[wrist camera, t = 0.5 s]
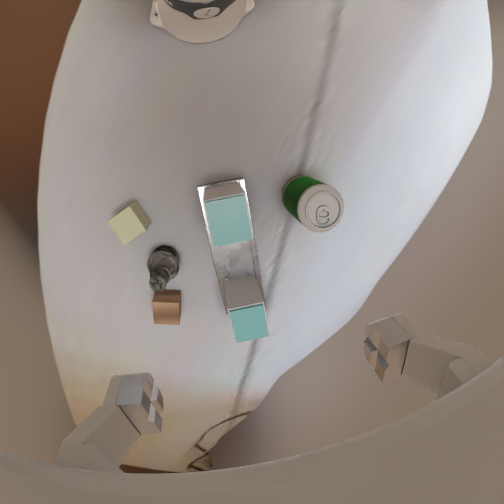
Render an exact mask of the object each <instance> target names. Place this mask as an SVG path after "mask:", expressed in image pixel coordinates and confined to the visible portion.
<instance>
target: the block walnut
mask: <svg viewBox="0 0 504 504" xmlns="http://www.w3.org/2000/svg"><path fill="white" fill-rule="evenodd" d="M152 303H153V316H154V324H169V325H179V324H180V315H181V290H163V291H161V292H156V291H155V295H154V298H153V301H152Z"/></svg>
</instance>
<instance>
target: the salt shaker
mask: <svg viewBox="0 0 504 504" xmlns="http://www.w3.org/2000/svg"><path fill="white" fill-rule="evenodd" d="M147 266H148V270H149V273H150V282H149V284H150V287H151V289H152V290H154V291H156V292H161V291H163V290H164V289H165V287H166V284H167V283H168V282H169V280H171V279H173V278H174V277H175V276H176V275H177V273H178V271H179V255H178V253H177V251H176V250H175V249H174V248H172V247H170V246H160V247H158V248H156V250H155V251H154V252H153V254H152V255H151V256H150V258H149V260H148V264H147Z"/></svg>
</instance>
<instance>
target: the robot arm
mask: <svg viewBox="0 0 504 504" xmlns="http://www.w3.org/2000/svg"><path fill="white" fill-rule="evenodd" d="M254 8H255V3H254V1H253V0H153V2H152V8H151V15H150V23H151V25H152V26H155V27H158V28H162V29H165V30H166V31H168V32H169V33H170V34H171V35H173V36H174V37H176V38H177V39H180V40H182V41H185V42H190V43H208V42H213V41H216V40H219V39H221V38H223V37H225V36H227V35H228V34H230V33H231V32H232V31H233V30H234V29H235V28H236V27H237V26H238V25H239V23H240V21H241V20H242V18H243V17H244V16H245V15H247V14H248V13H250V12H251V11H252V10H253V9H254ZM156 14H158V16H155V15H156ZM365 334H366V335H367V336H368V337H367V338H366V340H365V341H364V352H365V355H366V358H367V360H368V362H369V363H370V364H372V365H374V366H376V368H375V372H376V374H377V375H378V376H379V378H380V379H381V381H382V382H385V381H388V380H390V379H393V378H396V377H398V376H401V375H402V377H404V378H406V379H408V380H410V381H412V382H414V383H416V384H418V385H420V386H422V387H424V388H426V389H428V390H430V391H432V392H434V393H436V394H437V396H436V398H435V401H434V402H432V403H430V404H428V405H426V406H424V407H422V408H420V409H418V410H416V411H414V412H412V413H410V414H408V415H406V416H404V417H402V418H400V419H398V420H395V421H393V422H391V423H389V424H386V425H384V426H382V427H379V428H377V429H374V430H372V431H369V432H367V433H364V434H362V435H359V436H356V437H354V438H351V439H348V440H345V441H342V442H340V443H336V444H334V445H331V446H327V447H324V448H321V449H317V450H314V451H310V452H307V453H303V454H300V455H295V456H291V457H288V458H283V459H279V460H274V461H270V462H265V463H259V464H254V465H248V466H242V467H236V468H229V469H221V470H213V471H203V472H190V473H171V474H131V473H124V472H122V471H121V470H120V469H119V466H120V465H121V463H122V462H123V461H124V459H125V458H126V456H127V455H128V454H129V452H130V451H131V449H132V448H133V447H134V445H135V444H136V442H137V441H138V439H139V438H140V437H141V435H143V434H157V433H161V429H162V418H161V417H160V413H161V412H162V411H163V405H164V404H163V397H162V394H161V392H160V390H159V388H158V387H157V386H155V385H153V383H154V379H153V377H152V375H151V374H150V373H138V374H125V375H114V376H113V377H111V380H110V383H109V386H108V390H107V393H106V396H105V400H104V403H103V406H99V407H98V408H97V409H96V410H95V411H94V412H93V413H92V414H91V415H90V416H89V417H88V418H87V419H85V420H84V421H83V422H82V423H81V424H80V425H79V426H78V427H77V428H76V429H75V430H74V431H73V432H72V433H71V434H69V436H67V437H66V438H65V439H64V440H63V442H62V445H61V448H60V452H59V455H58V458H57V462H56V465H52V464H47V463H43V462H38V461H33V460H29V459H26V458H22V457H18V456H14V455H11V454H8V453H4V452H2V451H0V504H504V356H503V357H501V358H500V359H499V360H498V361H496V362H495V363H494V364H492V363H491V362H490V361H489V360H488V359H487V358H486V357H485V356H484V355H483V354H482V353H481V352H480V351H479V350H478V349H477V348H475V347H473V346H469V345H465V344H462V343H459V342H455V341H452V340H448V339H445V338H442V337H438V336H435V335H431V334H428V333H425V334H423V333H422V332H421V331H420V330H419V329H418V328H417V327H416V326H415V325H414V324H413V323H412V322H411V321H410V320H408V318H407V317H406V316H405V315H404V314H403V313H397V314H394V315H391V316H389V317H386V318H384V319H381V320H378V321H375V322H372V323H369V324H367V325H366V327H365Z"/></svg>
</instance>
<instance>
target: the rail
mask: <svg viewBox="0 0 504 504" xmlns="http://www.w3.org/2000/svg"><path fill="white" fill-rule="evenodd" d="M233 183H239V184H240V186H241V187H242V188H243V190H244V191H245V193H246V187H245V181H244V179H243V178H238V179H233V180H228V181H223V182H218V183H213V184H208V185H203V186H198V191H199V196H200V201H201V206H202V210H203V215H204V220H205V224H206V229H207V233H208V238H209V242H210V247H211V251H212V255H213V260H214V264H215V268H216V272H217V277H218V281H219V285H220V289H221V293H222V297H223V301H224V305H225V309H226V313H227V314H229V313H228V308H227V301H226V293H225V286H224V281H228V280H232V279H237V278H242V277H247V276H252V275H255V278H256V281H257V283H258V286H259V289H260V292H261V295H262V298H263V301H264V306H265V300H264V294H263V288H262V282H261V276H260V270H259V264H258V258H257V252H256V246H255V240H254V234H253V228H252V222H251V216H250V211H249V205H248V199H247V193H246V199H247V205H248V211H249V217H250V223H251V228H252V234H253V239H251V240H246V241H242V242H237V243H232V244H227V245H222V246H217V247H213V245H212V241H211V236H210V232H209V227H208V222H207V218H206V213H205V208H204V204H203V195H204V189H207V188H212V187H217V186H222V185H227V184H233ZM265 308H266V306H265Z"/></svg>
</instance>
